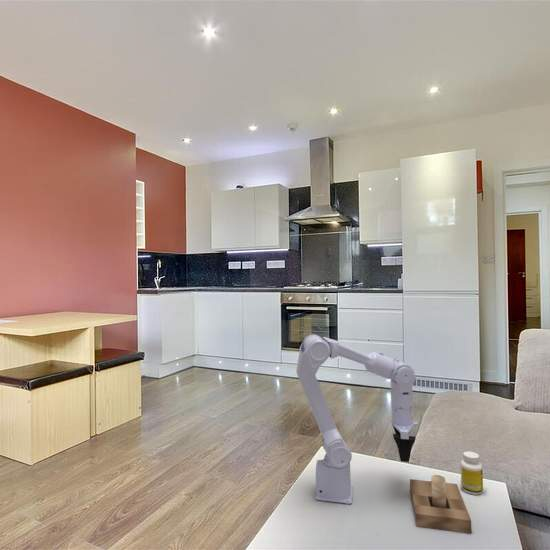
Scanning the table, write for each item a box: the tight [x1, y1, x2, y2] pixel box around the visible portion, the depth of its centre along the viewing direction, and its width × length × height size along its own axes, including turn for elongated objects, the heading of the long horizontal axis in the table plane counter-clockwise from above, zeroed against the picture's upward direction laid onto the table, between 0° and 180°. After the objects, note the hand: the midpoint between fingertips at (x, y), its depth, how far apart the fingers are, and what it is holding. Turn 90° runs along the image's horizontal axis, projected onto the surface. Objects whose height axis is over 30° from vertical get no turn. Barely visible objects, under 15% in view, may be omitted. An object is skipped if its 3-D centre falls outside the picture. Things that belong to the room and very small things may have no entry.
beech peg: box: [430, 474, 446, 508], centre depth 95 cm, size 3×3×9 cm
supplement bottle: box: [460, 451, 484, 496], centre depth 105 cm, size 5×5×10 cm
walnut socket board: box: [409, 478, 472, 534], centre depth 97 cm, size 12×16×3 cm
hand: (403, 454), depth 106 cm, fingers open, 7 cm apart
